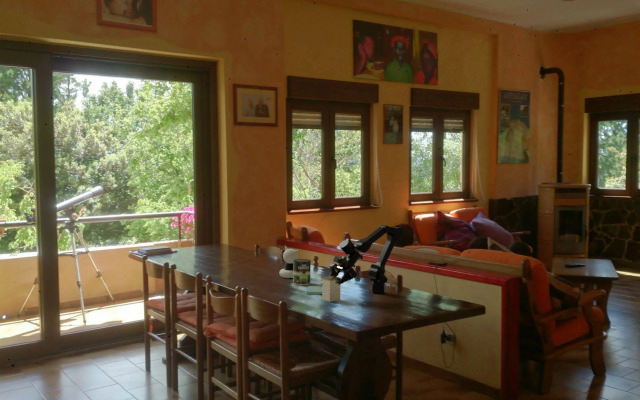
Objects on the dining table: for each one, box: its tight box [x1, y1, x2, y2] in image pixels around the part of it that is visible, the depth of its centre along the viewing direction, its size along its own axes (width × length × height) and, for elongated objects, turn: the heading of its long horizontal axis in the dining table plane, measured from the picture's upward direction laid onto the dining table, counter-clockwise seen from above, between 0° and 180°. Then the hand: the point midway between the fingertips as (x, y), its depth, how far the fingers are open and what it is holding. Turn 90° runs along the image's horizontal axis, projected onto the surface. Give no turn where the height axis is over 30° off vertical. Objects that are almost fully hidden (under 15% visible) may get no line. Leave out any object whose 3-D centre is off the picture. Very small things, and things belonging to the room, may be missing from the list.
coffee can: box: [292, 258, 312, 286], centre depth 344 cm, size 10×10×14 cm
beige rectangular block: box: [321, 275, 342, 303], centre depth 305 cm, size 7×7×12 cm
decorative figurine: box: [278, 245, 300, 279], centre depth 364 cm, size 15×15×20 cm
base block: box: [306, 285, 322, 295], centre depth 324 cm, size 15×15×2 cm
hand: (333, 282), depth 305 cm, fingers open, 9 cm apart
